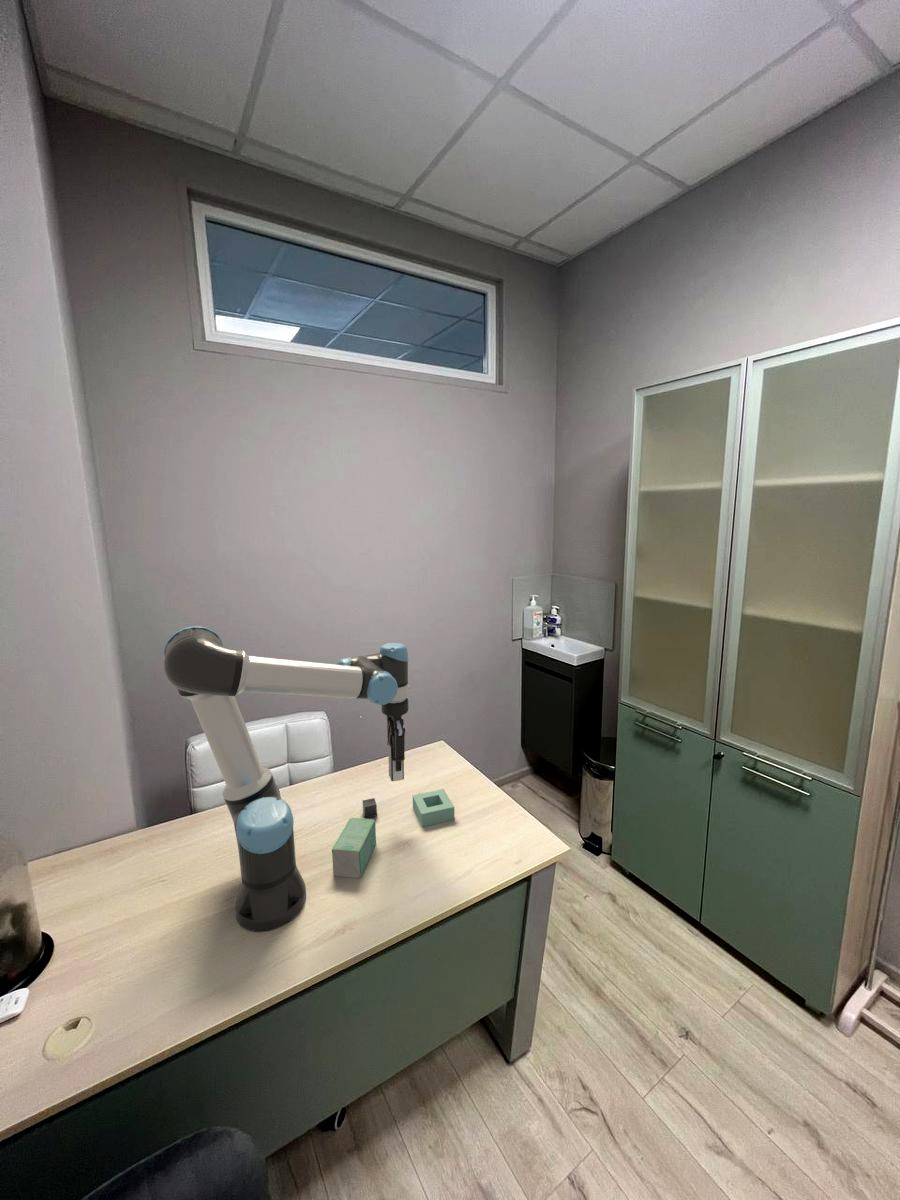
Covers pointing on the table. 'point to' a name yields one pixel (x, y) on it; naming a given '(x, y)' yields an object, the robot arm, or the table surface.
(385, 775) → the table surface
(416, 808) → the hole block
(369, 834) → the box
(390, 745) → the long pin
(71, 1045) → the table surface
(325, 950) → the table surface
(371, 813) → the short pin
